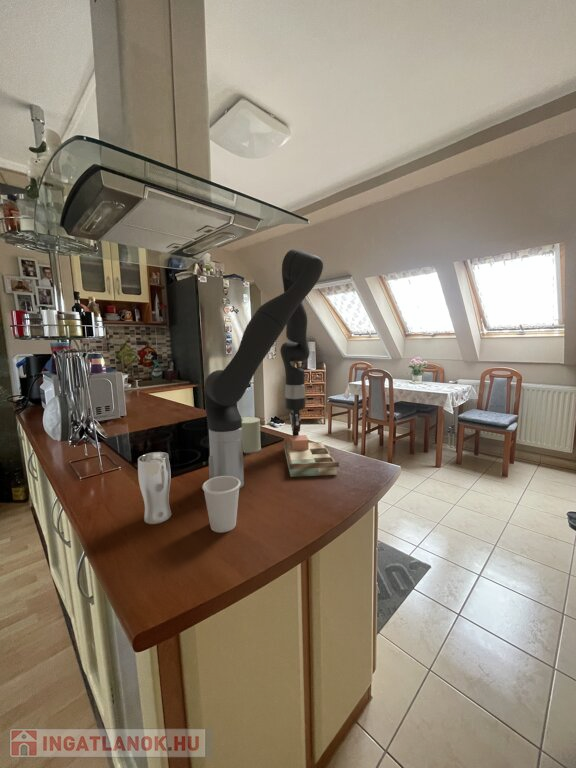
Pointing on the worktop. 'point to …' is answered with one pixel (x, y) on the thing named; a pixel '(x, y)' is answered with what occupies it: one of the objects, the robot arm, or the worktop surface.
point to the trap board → (310, 461)
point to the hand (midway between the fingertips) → (295, 440)
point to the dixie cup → (222, 502)
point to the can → (251, 434)
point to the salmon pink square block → (299, 442)
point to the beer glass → (155, 486)
